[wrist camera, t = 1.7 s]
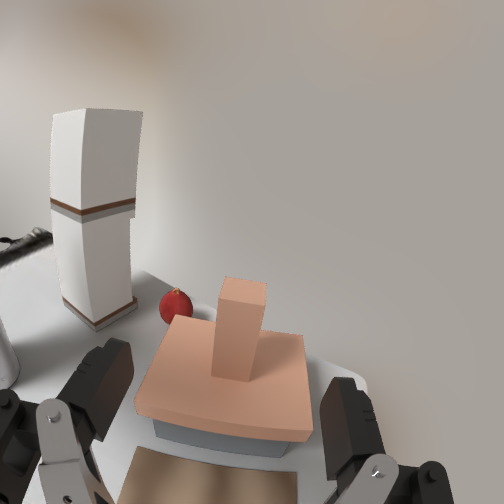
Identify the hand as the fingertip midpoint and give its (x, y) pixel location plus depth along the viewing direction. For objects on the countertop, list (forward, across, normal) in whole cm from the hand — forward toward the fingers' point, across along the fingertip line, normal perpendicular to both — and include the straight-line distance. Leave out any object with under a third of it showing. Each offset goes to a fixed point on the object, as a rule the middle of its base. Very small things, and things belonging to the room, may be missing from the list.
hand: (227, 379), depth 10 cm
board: (-2, 0, +24) cm, 24 cm away
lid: (+15, 0, +17) cm, 23 cm away
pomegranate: (+31, +11, +24) cm, 40 cm away
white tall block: (+31, +27, +24) cm, 47 cm away
